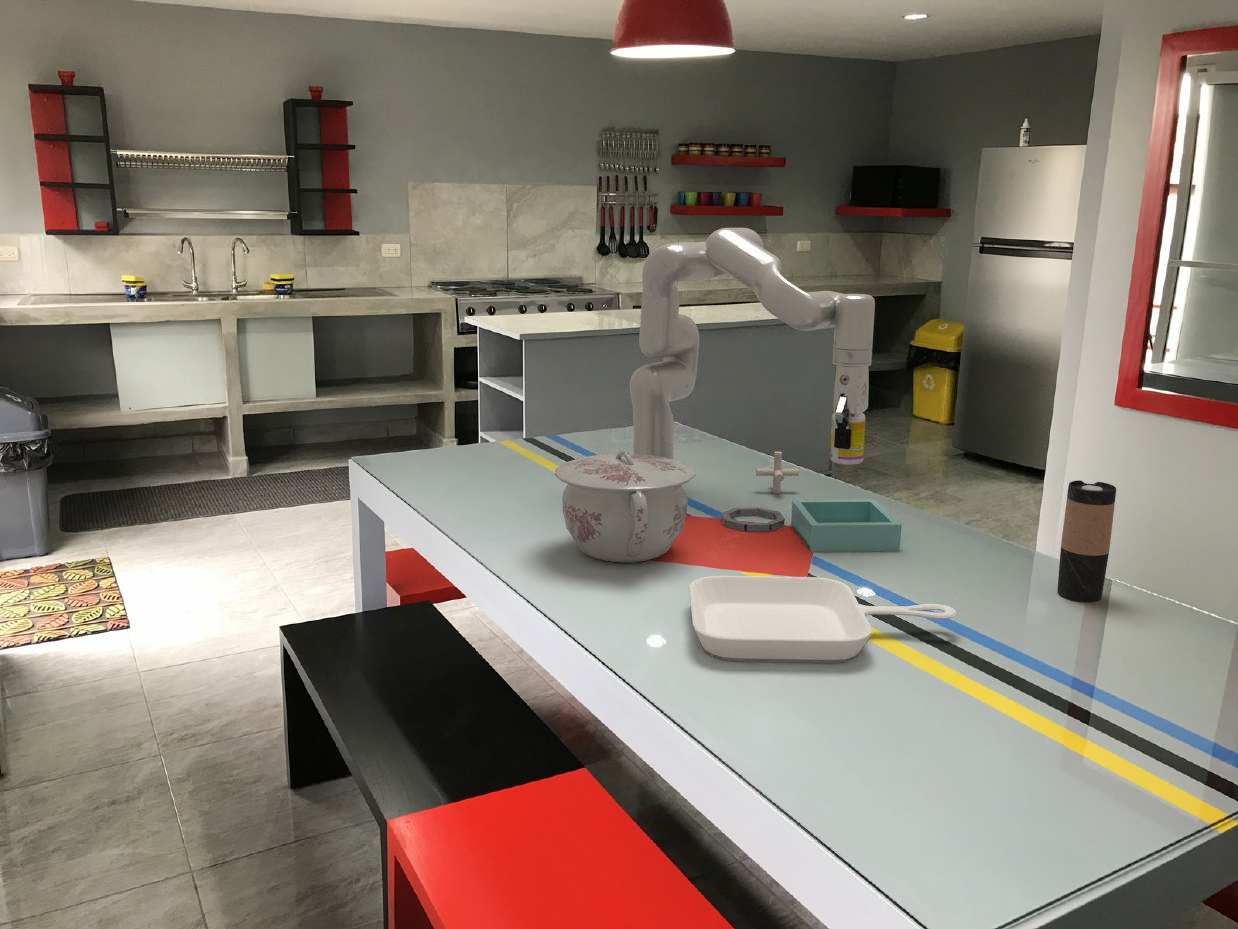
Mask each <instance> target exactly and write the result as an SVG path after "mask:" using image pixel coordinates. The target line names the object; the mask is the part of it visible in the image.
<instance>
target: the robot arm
mask: <svg viewBox="0 0 1238 929" xmlns="http://www.w3.org/2000/svg"><path fill="white" fill-rule="evenodd" d="M763 243H764V242H763V240H762V238H761V236H760V235H759V234H758V233H757V232H756V231H755V230H752V229H751V228H747V227H722V228H720V229H717V230H714V231H713V232H712V233H711V234H710V235H709V236H708V237H707V239H706V241H698V242H697V241H695V242H693V241H690V242H689V241H681V242H679V241H677V242H670V243H665V244H662V245H660V246H658V247H657V248H655V249H653V250H652V251H651V252H650V253H649V254H648V256H647V257H646V258H645V260H644V263H643V268H642V274H641V276H642V277H641V280H642V282H641V284H642V297H641V298H642V299H641V308H640V321H639V322H640V324H639V335H638V337H639V340H638V341H639V343H638V344H639V348H640V351H641V352H642V354H644V356H646V357H648V358H651V359H660V358H661V359H663V360H662V361H658V362H657V361H656V362H653V363H648V364H644V365H642V366H639V368H637V369H636V370H635V371H634V372H633V373H632V375H631V377H630V380H629V394H630V398H631V399H630V400H631V404H632V420H633V421H632V422H633V430H632V431H633V449H632V450H633V453H632V454H644V455H653V456H659V457H666V458H669V459H673V460H675V458H674V454H675V452H674V449H675V448H674V446H675V421H674V415H673V413H672V409H671V406H670V403H671V402H674V401H678V400H679V401H680V400H682V399H684V398H687V397H688V396H690V394H691V393H692V392H693V390H694V388H695V386H696V385H695V384H696V380H697V374H698V373H697V372H698V362H699V361H698V360H699V352H700V351H699V350H700V332H699V329H698V327H697V324H696V323H695V321H694V320H693V319H692V317H690V316H688V315H686V314H682V313H679V312H680V310H679V309H680V304H681V303H680V294H679V290H678V287H677V285H676V284H677V283H680V282H681V283H682V282H694V281H695V282H696V281H697V282H698V281H705V280H712V279H715V278H718V277H721V276H725V275H728V276H730V277H731V278H733V279H734V280H736V281H737V282H738V283H740V284H741V285H743V286H744V287H746V288H747V289H749V290H750V291H752V292H753V293H755V296H756V298H757V299H758V301H759V302H760V304H761V306H762V307H764V308H765V310H766V311H767V312H768V313H770V315H773V316H774V317H775V318H777V319H779V320H780V321H782V322H783V323H785V324H786V325H787V326H789V327H791V328H793V329H795V330H797V331H801V332H811V331H816V330H824V329H831V328H834V330H833V332H834V334H833V347H832V348H833V349H832V350H833V351H832V364H833V365H835V366H836V370H835V374H834V375H835V377H834V378H835V379H834V388H833V402H832V403H833V408H832V409H833V413H835V414H836V423H835V438H834V447H835V448H841V449H850V447H851V431H852V429H850V425H851V419H852V414H854V416H858V415H860V414H861V413H863V414H864V412H866V410H868V408H869V388H870V386H869V385H870V384H869V382H870V381H869V380H870V379H869V378H870V377H869V372H870V371H869V367H870V366H872V358H873V341H874V329H875V328H874V327H875V326H874V325H875V313H876V312H875V310H876V309H875V308H876V307H875V306H876V301H875V300H876V299H875V298H874V297H873V296H872V295H871V294H865V293H841V292H837V291H833V290H821V291H819V290H818V291H809V292H808V291H807V292H806V291H804V290H803V289H801V288H799V287H798V286H796V285H795V284H793V283H792V282H790V281H789V280H787V279H786V278H785V277H784V276H783V275H782V274H781V272H782V261H781V259H780V258H779V257H778V256H776V255H775V254H773V253H771V252H770V251H769V250H767V249H765V248H764V244H763ZM844 411H847V412H849V413H844ZM844 417H847V421H846V418H844Z"/></svg>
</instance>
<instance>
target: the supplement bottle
mask: <svg viewBox="0 0 1238 929" xmlns="http://www.w3.org/2000/svg"><path fill="white" fill-rule="evenodd" d="M844 413H849V412H847V411H844ZM844 418H846V421H847V417H844ZM835 423H836V414H835V413H834V412H833V413H832V416H831V430H830V448H829V450H830V451H829V458H830V461H831V462H832V463H835V464H839V465H847V466H848V465H850V466H852V465H858V464H861V463H862V462H864V450H865V449H864V448H865V433H866V432H865V430H866V415H865V414H864V412H863V413H861V414H860V415H858V416H854V414H852V419H851V425H850V429H852V431H851V447H850V449H841V448H835V447H834V438H835Z"/></svg>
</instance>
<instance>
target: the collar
mask: <svg viewBox="0 0 1238 929" xmlns="http://www.w3.org/2000/svg"><path fill="white" fill-rule="evenodd" d="M720 516H721V517H720V518H721V522H722V524H723V526H724V527H726V528H729V529H733V530H736V531H741V532H747V533H751V532H753V533H755V532H756V533H757V532H760V533H761V532H767V533H769V532H773V531H775V530H778V529H780V528H783V527H785V521H786V518H785V517H784V515H783V514H782V513H781V512H780V511H777V510H773V509H769V508H764V507H754V506H753V507H751V506H750V507H734V508H731V509H728V510H725V511H722V512H721V515H720ZM738 517H761V518H766V519H770V521H768V522H746V521H742V520H737V519H734V518H738Z"/></svg>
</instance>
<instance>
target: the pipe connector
mask: <svg viewBox="0 0 1238 929" xmlns="http://www.w3.org/2000/svg"><path fill="white" fill-rule="evenodd" d="M782 459H783V452H782V451H774V453H773V464H772V465H771V466H770V468H756V469H755V475H756V477H772V479H773V480H772V494H774V493H775V494H776V495H777V493H778V494H779V495H780V494H781V482H783V481H784V479H785V477H799V474H800V473H799V472H800V471H799V468H782V462H783V461H782Z"/></svg>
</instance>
